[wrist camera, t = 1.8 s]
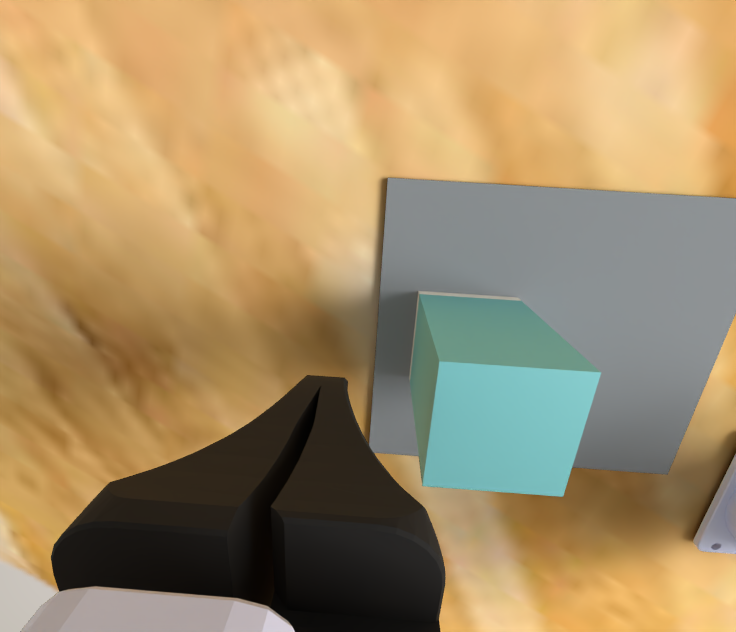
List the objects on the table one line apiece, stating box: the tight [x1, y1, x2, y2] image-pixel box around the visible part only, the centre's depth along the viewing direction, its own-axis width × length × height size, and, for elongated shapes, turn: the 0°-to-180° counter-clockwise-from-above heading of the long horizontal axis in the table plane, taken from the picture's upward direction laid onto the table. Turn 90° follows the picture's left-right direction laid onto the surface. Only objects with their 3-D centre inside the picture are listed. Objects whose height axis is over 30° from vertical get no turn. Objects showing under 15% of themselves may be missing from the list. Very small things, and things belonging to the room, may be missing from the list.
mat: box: [369, 178, 736, 475], centre depth 18 cm, size 16×14×1 cm
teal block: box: [409, 291, 601, 497], centre depth 15 cm, size 4×4×7 cm
